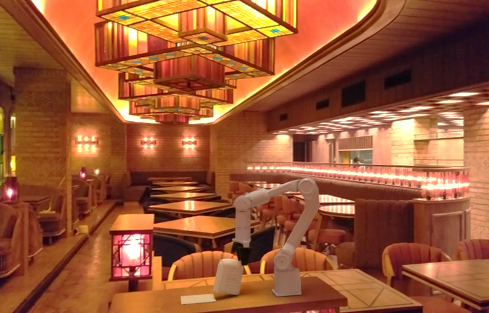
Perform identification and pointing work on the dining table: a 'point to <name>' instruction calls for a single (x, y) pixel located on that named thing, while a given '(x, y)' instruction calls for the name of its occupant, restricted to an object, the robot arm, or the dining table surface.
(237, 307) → the dining table surface
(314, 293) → the dining table surface
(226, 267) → the photo printer
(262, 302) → the dining table surface
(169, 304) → the dining table surface
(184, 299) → the mat
